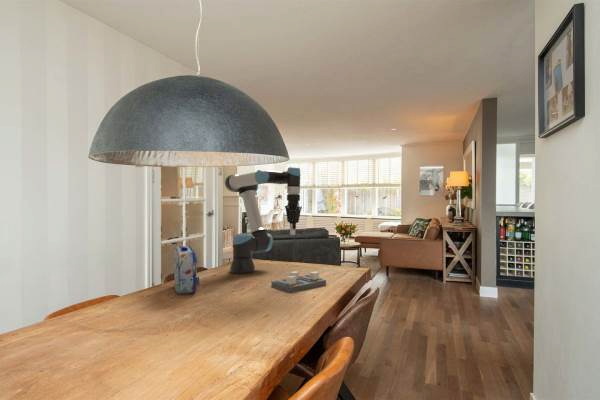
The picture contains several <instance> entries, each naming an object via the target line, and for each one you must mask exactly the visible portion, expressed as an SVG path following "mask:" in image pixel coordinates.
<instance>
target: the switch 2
mask: <svg viewBox="0 0 600 400" xmlns="http://www.w3.org/2000/svg"><path fill="white" fill-rule="evenodd" d="M309 275H310V279H313V280H316V279H319V278H320V272H319V271H311V272H309Z"/></svg>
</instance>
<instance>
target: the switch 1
mask: <svg viewBox="0 0 600 400" xmlns="http://www.w3.org/2000/svg"><path fill="white" fill-rule="evenodd" d="M285 277H286V278H285V279H286V283H287V284H290V285H292V284H296V276H290V275H288V276H285Z"/></svg>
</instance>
